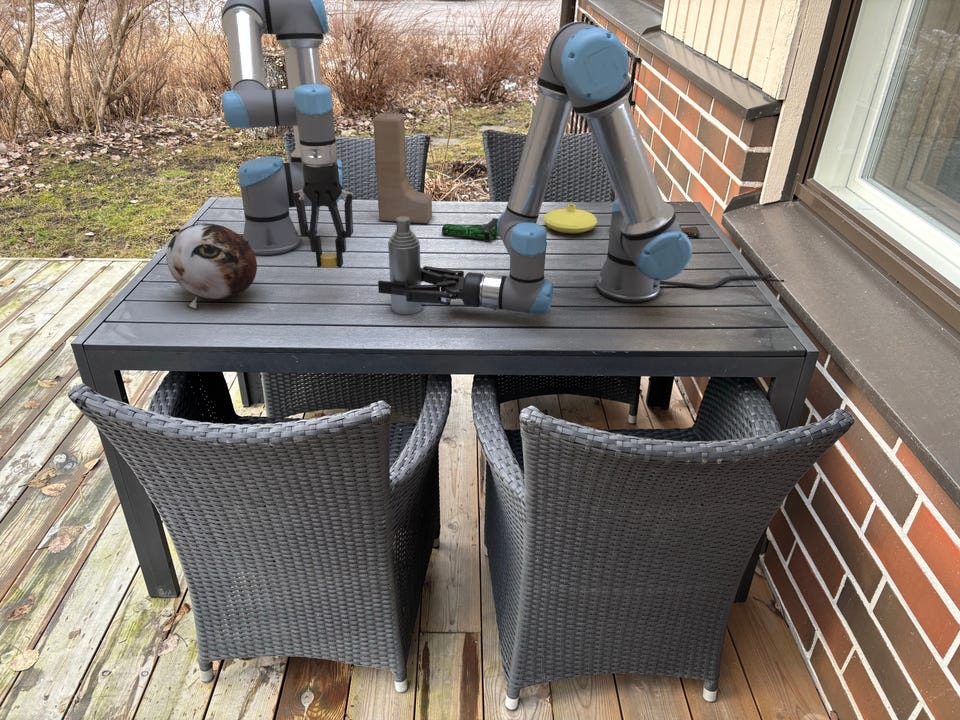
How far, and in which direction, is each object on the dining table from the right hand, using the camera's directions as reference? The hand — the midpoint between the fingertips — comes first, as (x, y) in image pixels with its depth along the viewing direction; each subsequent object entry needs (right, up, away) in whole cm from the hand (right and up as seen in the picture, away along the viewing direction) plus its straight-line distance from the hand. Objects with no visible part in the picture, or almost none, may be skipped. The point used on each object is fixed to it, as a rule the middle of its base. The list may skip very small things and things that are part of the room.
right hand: (384, 279), depth 163 cm
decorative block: (-1, +24, +54) cm, 59 cm away
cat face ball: (-40, -3, +6) cm, 41 cm away
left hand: (-13, +3, +1) cm, 13 cm away
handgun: (+21, +19, +45) cm, 53 cm away
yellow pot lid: (+48, +20, +48) cm, 71 cm away
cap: (-13, +5, 0) cm, 14 cm away
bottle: (+5, -6, +2) cm, 8 cm away
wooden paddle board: (+73, +18, +46) cm, 88 cm away
